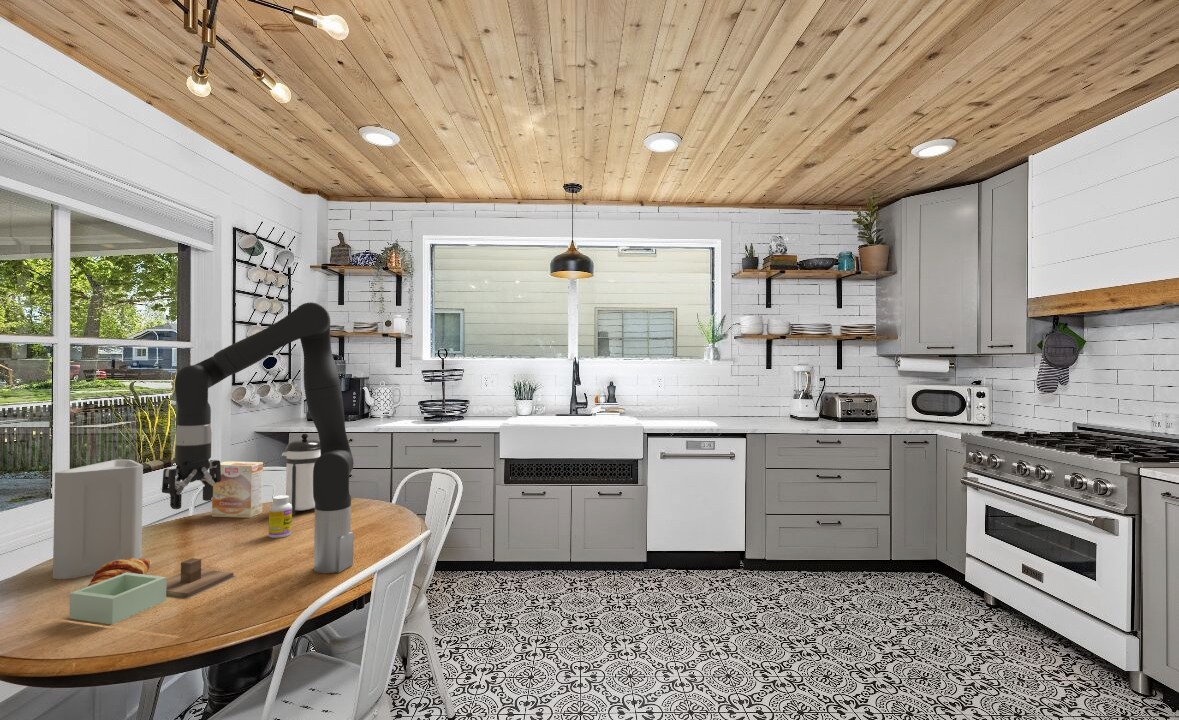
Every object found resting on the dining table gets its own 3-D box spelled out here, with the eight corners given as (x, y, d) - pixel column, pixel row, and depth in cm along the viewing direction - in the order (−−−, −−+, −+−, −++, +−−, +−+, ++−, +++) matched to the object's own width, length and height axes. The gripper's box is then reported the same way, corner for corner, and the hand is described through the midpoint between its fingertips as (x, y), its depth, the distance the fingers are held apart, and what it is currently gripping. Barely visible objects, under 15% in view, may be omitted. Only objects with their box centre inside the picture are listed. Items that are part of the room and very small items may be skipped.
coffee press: (310, 517, 197) (311, 436, 197) (271, 514, 200) (273, 435, 200) (339, 505, 214) (340, 431, 215) (303, 502, 217) (304, 429, 217)
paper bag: (107, 578, 141) (109, 473, 141) (50, 578, 140) (52, 472, 140) (164, 552, 160) (165, 460, 160) (113, 552, 159) (115, 459, 160)
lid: (233, 576, 142) (233, 554, 142) (187, 597, 130) (188, 572, 130) (193, 571, 145) (193, 549, 145) (144, 591, 132) (145, 567, 132)
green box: (166, 602, 128) (166, 577, 128) (112, 626, 116) (112, 598, 116) (126, 596, 130) (126, 572, 130) (69, 619, 119) (69, 593, 119)
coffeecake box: (210, 517, 196) (211, 464, 196) (224, 511, 203) (225, 460, 203) (250, 518, 196) (251, 465, 196) (262, 512, 203) (263, 461, 203)
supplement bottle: (284, 538, 174) (284, 499, 174) (264, 538, 174) (264, 499, 174) (295, 532, 180) (296, 494, 180) (276, 531, 181) (277, 494, 181)
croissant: (136, 581, 148) (122, 556, 147) (172, 562, 149) (158, 538, 149) (75, 615, 127) (59, 586, 127) (118, 593, 128) (101, 565, 128)
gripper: (179, 446, 130) (177, 513, 130) (229, 438, 144) (228, 498, 144) (154, 445, 131) (152, 510, 131) (206, 437, 145) (205, 496, 145)
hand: (192, 504), depth 137 cm, fingers open, 8 cm apart
